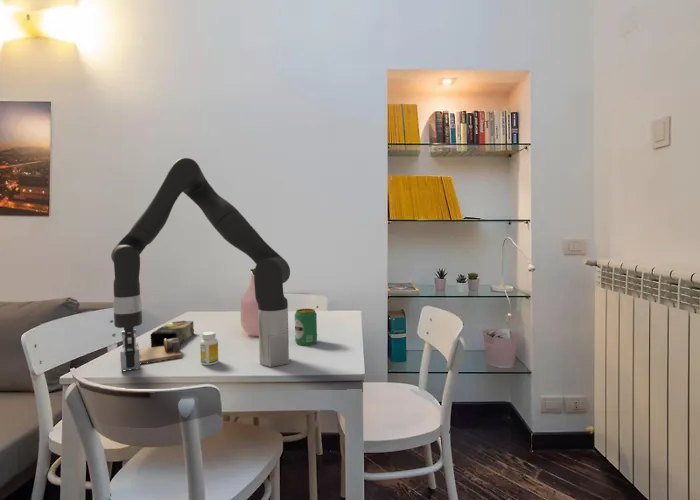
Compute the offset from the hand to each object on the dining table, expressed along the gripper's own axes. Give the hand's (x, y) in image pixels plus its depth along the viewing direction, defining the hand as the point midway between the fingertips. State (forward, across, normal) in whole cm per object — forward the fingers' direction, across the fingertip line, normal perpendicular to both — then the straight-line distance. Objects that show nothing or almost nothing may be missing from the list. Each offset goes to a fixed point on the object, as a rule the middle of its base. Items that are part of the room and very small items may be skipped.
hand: (130, 364), depth 126 cm
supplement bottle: (+1, -8, -22) cm, 23 cm away
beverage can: (+1, -4, -57) cm, 57 cm away
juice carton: (+2, +26, -15) cm, 30 cm away
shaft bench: (+1, +9, -7) cm, 11 cm away
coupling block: (+1, 0, 0) cm, 1 cm away
